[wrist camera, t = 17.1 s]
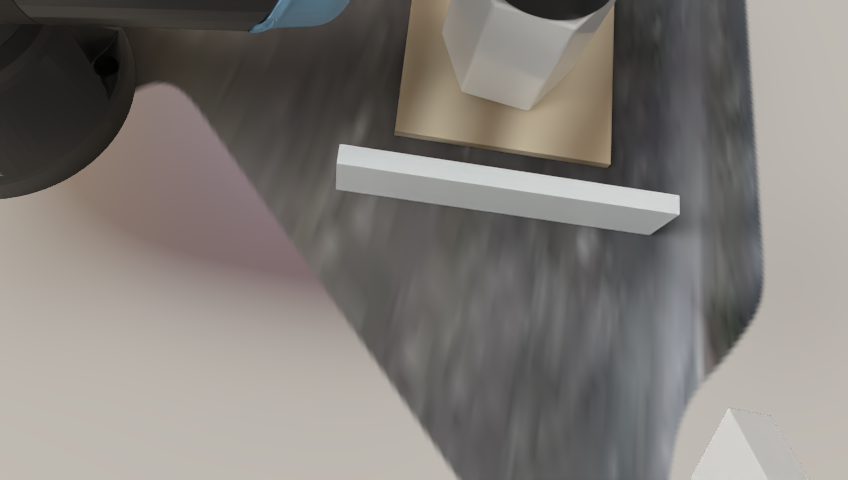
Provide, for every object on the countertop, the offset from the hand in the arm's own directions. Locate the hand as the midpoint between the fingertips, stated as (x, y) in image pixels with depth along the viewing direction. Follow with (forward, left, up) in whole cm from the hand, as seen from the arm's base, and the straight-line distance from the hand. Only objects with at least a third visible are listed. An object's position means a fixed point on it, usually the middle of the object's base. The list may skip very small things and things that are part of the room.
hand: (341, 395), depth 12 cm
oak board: (-10, +25, -28) cm, 39 cm away
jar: (-10, +25, -27) cm, 38 cm away
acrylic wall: (-3, +17, -28) cm, 32 cm away
